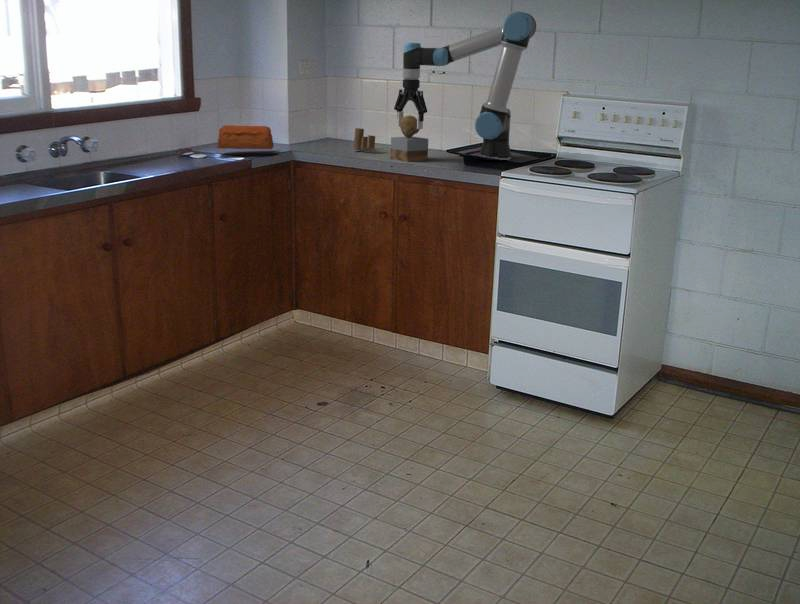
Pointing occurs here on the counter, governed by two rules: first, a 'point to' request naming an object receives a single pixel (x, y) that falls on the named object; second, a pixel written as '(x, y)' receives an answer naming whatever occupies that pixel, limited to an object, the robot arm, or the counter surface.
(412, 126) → the natural sponge
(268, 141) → the bread
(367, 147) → the wooden block set
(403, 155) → the tower base slab
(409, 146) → the tower top slab
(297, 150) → the counter surface
